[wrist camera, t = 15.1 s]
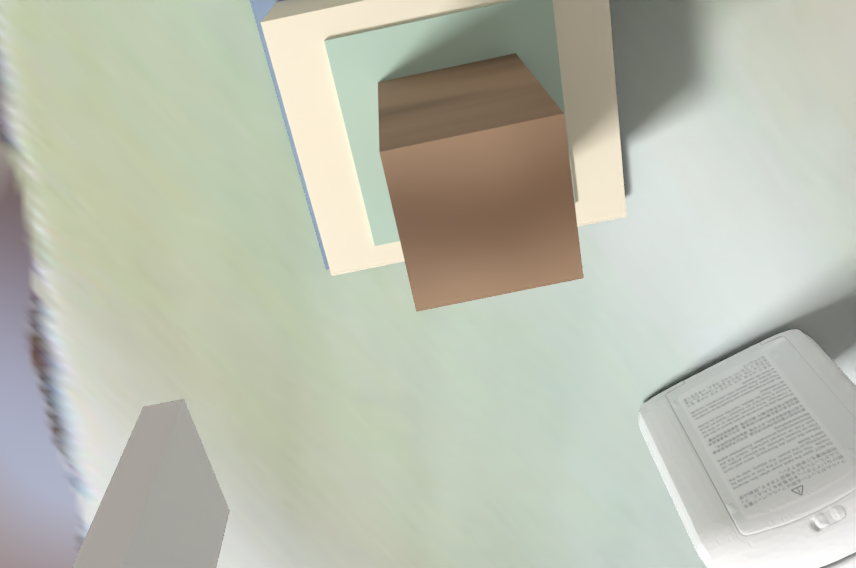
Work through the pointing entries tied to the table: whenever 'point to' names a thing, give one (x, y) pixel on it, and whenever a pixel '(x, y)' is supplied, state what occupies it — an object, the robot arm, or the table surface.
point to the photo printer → (762, 456)
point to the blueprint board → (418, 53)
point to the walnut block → (478, 181)
